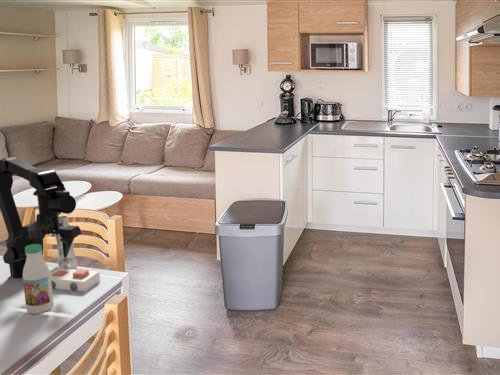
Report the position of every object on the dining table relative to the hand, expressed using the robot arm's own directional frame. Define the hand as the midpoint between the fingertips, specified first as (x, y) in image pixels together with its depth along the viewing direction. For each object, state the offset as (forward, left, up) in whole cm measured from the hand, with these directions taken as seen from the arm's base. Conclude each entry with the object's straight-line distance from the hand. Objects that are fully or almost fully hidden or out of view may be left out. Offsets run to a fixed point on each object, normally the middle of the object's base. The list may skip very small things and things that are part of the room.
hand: (53, 256), depth 178 cm
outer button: (+8, +2, -7) cm, 11 cm away
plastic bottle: (-5, +14, -11) cm, 19 cm away
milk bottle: (+5, -15, -11) cm, 20 cm away
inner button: (0, +3, -9) cm, 9 cm away
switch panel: (+4, +2, -11) cm, 12 cm away
